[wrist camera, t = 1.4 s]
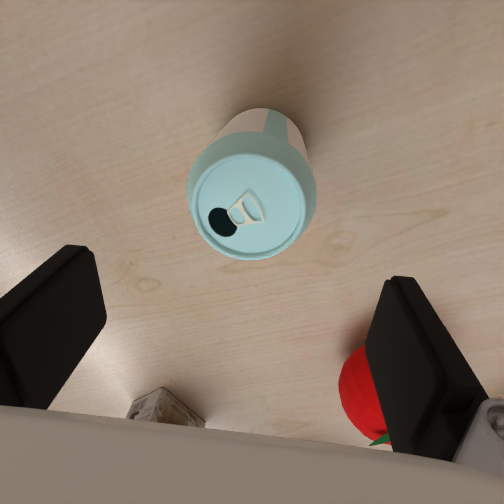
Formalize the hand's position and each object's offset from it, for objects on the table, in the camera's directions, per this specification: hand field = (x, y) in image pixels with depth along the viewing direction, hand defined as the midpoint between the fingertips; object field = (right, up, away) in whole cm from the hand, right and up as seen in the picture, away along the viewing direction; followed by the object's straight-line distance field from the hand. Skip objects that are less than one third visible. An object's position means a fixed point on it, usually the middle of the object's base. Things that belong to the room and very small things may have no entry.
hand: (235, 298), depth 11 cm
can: (+1, +10, +16) cm, 19 cm away
